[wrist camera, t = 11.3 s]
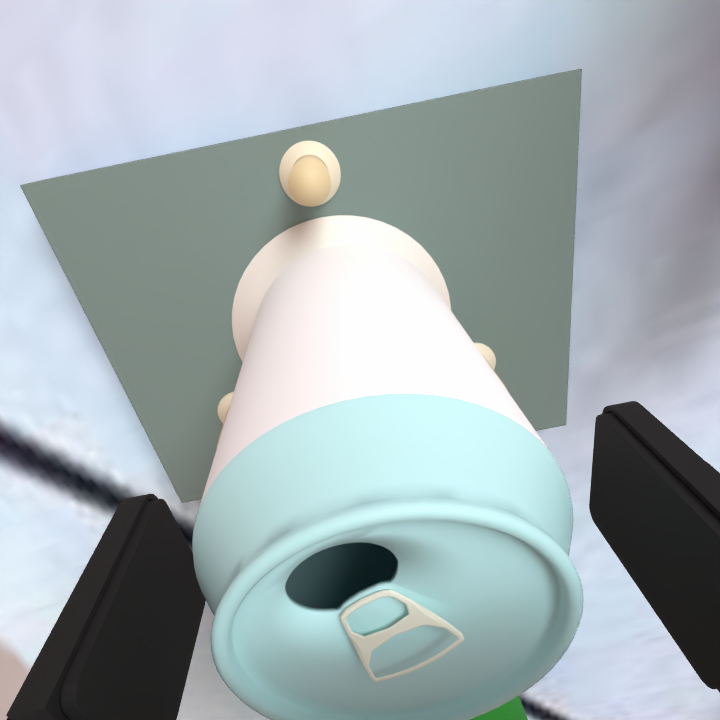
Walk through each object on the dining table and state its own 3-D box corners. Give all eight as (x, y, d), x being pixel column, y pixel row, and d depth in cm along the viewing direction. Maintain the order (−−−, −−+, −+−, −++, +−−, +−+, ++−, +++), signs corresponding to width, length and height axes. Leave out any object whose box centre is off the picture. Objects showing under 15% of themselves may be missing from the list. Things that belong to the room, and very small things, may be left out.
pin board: (550, 406, 22) (595, 461, 19) (189, 479, 22) (166, 547, 19) (559, 73, 16) (630, 59, 12) (44, 179, 16) (-33, 197, 12)
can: (240, 386, 18) (138, 751, 8) (282, 212, 15) (205, 420, 5) (403, 422, 20) (503, 768, 9) (469, 270, 17) (728, 525, 6)
